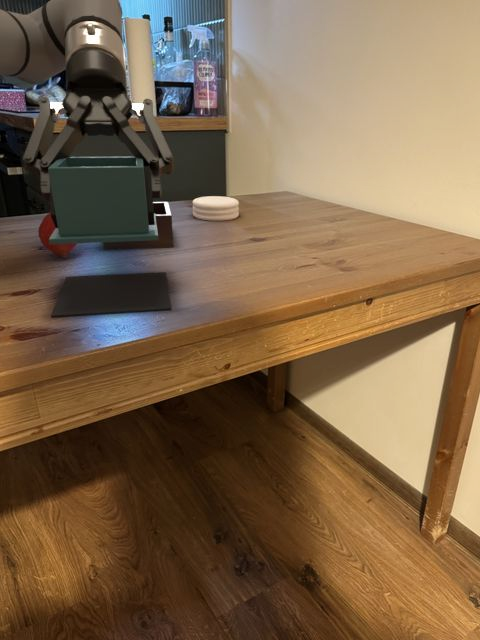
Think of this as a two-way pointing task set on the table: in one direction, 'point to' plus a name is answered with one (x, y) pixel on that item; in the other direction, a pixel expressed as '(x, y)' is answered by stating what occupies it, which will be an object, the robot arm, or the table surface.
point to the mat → (112, 294)
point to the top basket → (100, 200)
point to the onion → (46, 232)
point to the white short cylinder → (215, 208)
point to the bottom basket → (163, 229)
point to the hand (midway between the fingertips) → (104, 220)
